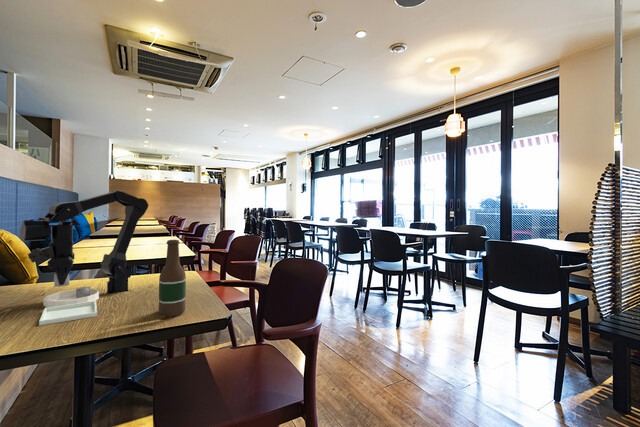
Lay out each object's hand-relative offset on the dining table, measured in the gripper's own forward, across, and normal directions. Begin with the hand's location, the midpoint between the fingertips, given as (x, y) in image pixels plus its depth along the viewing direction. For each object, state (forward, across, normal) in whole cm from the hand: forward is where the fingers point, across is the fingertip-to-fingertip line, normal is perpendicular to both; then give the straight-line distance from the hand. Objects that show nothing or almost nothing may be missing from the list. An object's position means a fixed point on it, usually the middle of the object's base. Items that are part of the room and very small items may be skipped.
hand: (62, 283), depth 104 cm
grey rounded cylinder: (+6, 0, +6) cm, 9 cm away
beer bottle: (+8, +32, +29) cm, 43 cm away
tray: (+7, +16, +3) cm, 18 cm away
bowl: (+7, 0, +3) cm, 8 cm away
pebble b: (+1, 0, 0) cm, 1 cm away
